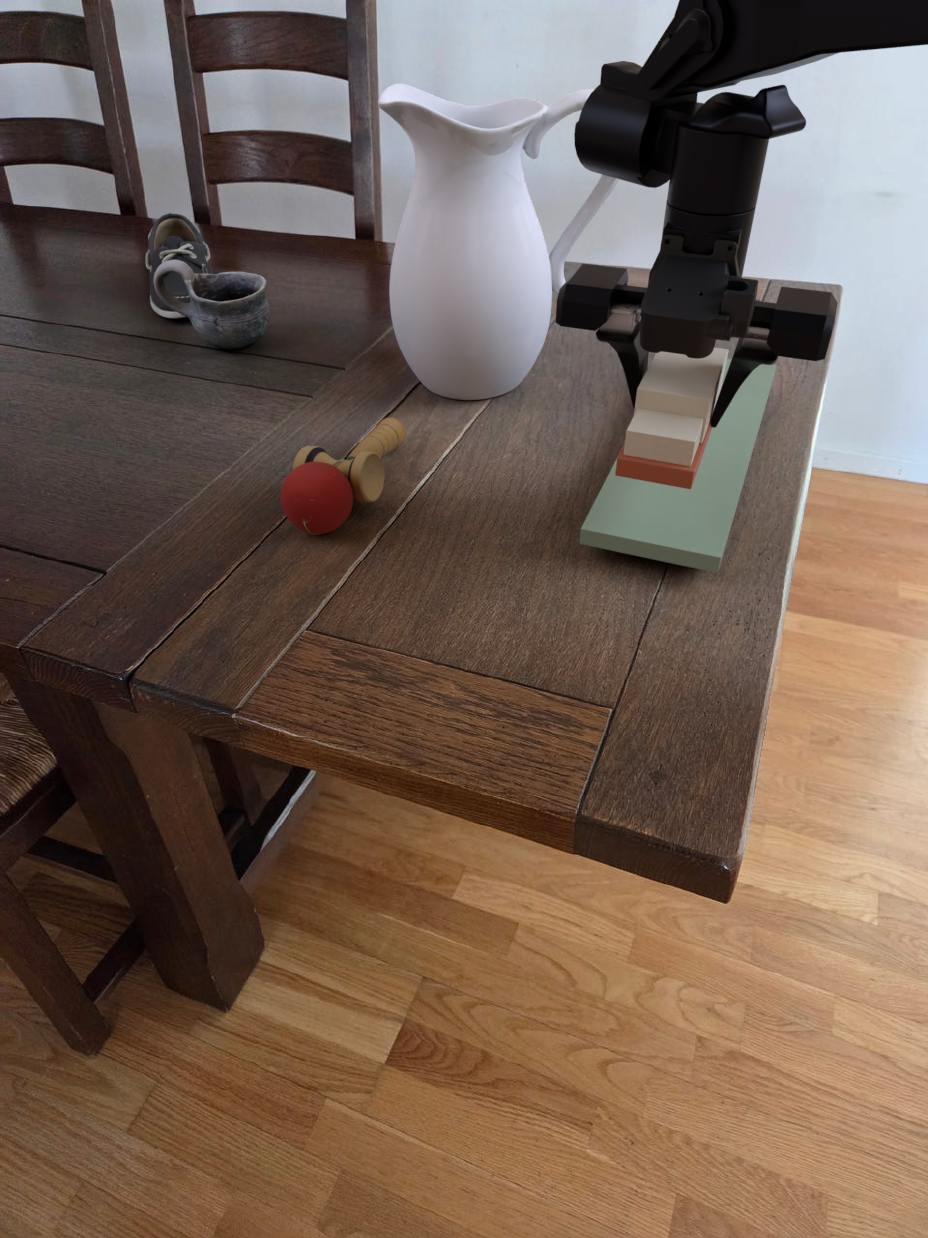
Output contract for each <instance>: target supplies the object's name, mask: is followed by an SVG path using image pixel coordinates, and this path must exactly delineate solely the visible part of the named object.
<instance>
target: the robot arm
mask: <svg viewBox="0 0 928 1238" xmlns="http://www.w3.org/2000/svg"><path fill="white" fill-rule="evenodd" d="M917 46H928V0H678V3H677V6H676V9H675V12H674V17H673V18H672V19H671V21H670V22H669V24H668V25H667V27H666V29H665V31H664V32H663V33H662V35H661V37H660V38H659V40H658V41H657V43H656V45H654V48H653V50H652V51H651V53H650V54H649V56H647V57H648V58H646V60H645V62H644V64H643V65H642V66H641V65H639V64H638V63H636V62H632V61H627V60H620V61H614V62H608V63H603V64H602V66H601V69H600V81H599V84H598V85H597V86H596V87H595V88H594V89H595V90H594V91H593V92H592V93H591V94H590V96H589V97H588V99H587V100H586V102H585V104H584V106H583V109H582V110H580V114H579V117H578V121H576V122H575V126H574V135H573V136H574V137H573V138H574V150H575V153H576V157H577V158H578V161H579V163H580V164H581V166H582V167H583V168H584V169H586V170H588V171H589V172H592V173H596V174H599V175H602V174H603V175H606V176H610V177H613V178H617V179H619V181H620V180H621V181H625V182H627V183H631V184H635V185H638V186H643V187H644V188H645V187H646V188H650V189H651V188H653V189H657V188H659V187H662V186H664V185H665V184H667V183H668V189H667V196H666V197H667V198H666V202H665V203H666V204H665V210H664V217H663V219H664V220H663V225H662V226H663V227H662V234H661V240H660V247H659V251H658V254H657V255H656V257H655V260H654V262H653V264H652V266H651V269H650V271H649V273H648V282H647V287H644V286H637V285H636V286H635V285H630V284H629V285H628V283H629V272H628V268H624V267H617V266H606V265H600V264H591V263H590V264H589V263H582V264H581V265H579V266H578V267H577V268H576V269H575V270H574V271H573V272H572V273H571V275H570V276H569V277H568V278H567V280H565V281H566V282H565V283H564V285H563V286H562V287H561V288H560V290H559V293H557V298H556V307H555V308H556V309H555V323H556V324H557V325H558V326H559V327H563V328H571V329H578V330H583V331H585V330H586V331H593V332H595V336H596V339H597V341H599V342H602V343H607V344H609V346H611V348H612V349H613V350H614V351H615V352H616V354H617V356H618V359H619V362H620V364H621V366H622V369H623V373H624V377H625V381H626V384H627V389H628V393H629V397H630V401H631V405H632V409H633V411H634V410H635V403H636V395H637V388H638V387H639V385H640V383H641V381H642V379H643V377H644V375H645V373H646V371H647V369H648V367H649V353H654V354H655V353H659V352H661V351H662V352H669V353H676V354H683V355H686V356H687V357H689V358H695V359H700V358H705V357H707V356H709V355H710V354H711V353H712V352H713V349H714V348H715V347H716V346H715V345H716V341H723V342H724V341H725V342H730V341H731V339H732V338H734V339H735V338H736V339H738V340H737V343H736V346H735V349H734V352H733V354H732V357H731V359H732V360H731V362H730V365H729V368H728V371H727V374H726V377H725V379H724V382H723V385H722V388H721V391H720V393H719V396H718V399H717V402H716V405H715V408H714V411H713V415H712V421H711V427H713V428H716V426H717V425H718V423H719V421H720V420H721V418H722V416H723V414H724V413H725V411H726V409H727V408H728V406H729V404H730V403H731V401H732V399H733V398H734V396H735V394H736V393H737V391H738V389H739V388H740V386H741V385H742V384H743V382H744V381H745V380H746V379H747V377H748V376H749V375H750V374H751V372H752V371H753V370H754V369H756V368H757V367H758V366H759V365H761V364H764V365H772V364H773V365H776V364H777V362H778V359H779V357H781V358H788V359H789V358H790V359H795V360H803V361H810V362H811V361H812V362H818V361H822V360H826V357H827V353H828V350H829V347H830V342H831V338H832V335H833V331H834V326H835V323H836V315H837V314H836V313H837V308H838V301H837V299H836V297H835V296H834V294H833V292H832V291H824V290H815V289H806V288H797V287H789V286H780V289H779V293H778V296H777V300H776V302H771V301H770V302H769V301H760V300H756V299H757V295H758V289H759V280H758V279H754V278H745V277H744V278H743V274H744V270H745V265H746V258H747V254H748V248H749V245H750V238H751V233H752V228H753V223H754V218H755V213H756V207H757V204H758V203H757V202H758V198H759V193H760V188H761V183H762V178H763V173H764V168H765V163H766V157H767V152H768V147H769V143H770V139H774V138H775V139H776V138H779V137H782V136H787V135H790V134H793V133H798V132H802V131H803V130H804V129H805V128H806V126H807V119H806V117H805V116H804V114H803V113H802V111H801V109H800V108H799V107H798V106H797V104H795V103H794V101H793V100H792V99H791V96H790V94H789V90H788V87H787V85H786V84H778V85H773V86H769V87H764V88H761V89H760V90H759V91H758V92H757V93H756V95H755V96H752V95H747V94H742V93H737V92H730V91H722V92H719V93H716V94H714V95H713V96H711V97H709V98H708V99H707V100H706V101H705V102H704V103H703V102H698V94H699V93H703V92H708V91H713V90H717V89H724V88H727V87H732V86H736V85H737V84H739V83H741V82H744V81H749V80H753V79H758V78H759V79H760V78H764V77H768V76H773V75H777V74H780V73H783V72H786V71H787V72H788V71H791V70H793V69H796V68H799V67H802V66H806V65H809V64H812V63H816V62H818V61H821V60H824V59H826V58H829V57H832V56H835V55H837V54H840V53H841V54H842V53H850V52H851V53H852V52H861V51H862V52H863V51H872V50H873V51H874V50H883V49H885V50H886V49H894V48H905V47H907V48H908V47H917Z"/></svg>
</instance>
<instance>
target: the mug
mask: <svg viewBox="0 0 928 1238" xmlns="http://www.w3.org/2000/svg"><path fill="white" fill-rule="evenodd" d="M170 272H173V273H177V274H179V275H181V277H182V278H183V281H184V283H185V285H186V287H187V290H188V293H189V297H190V300H191V302H190V303H183V302H181V301H179V300H177V299H176V298H175V297H174V296H172V295H171V293H170V292H169V291H168V290H167V289H166V287H165V285H164V282H163V277H164V275H165V274H167V273H170ZM267 285H268V283H267V279H266V278H264V277H263V276H262V275H260V274H257V273H252V272H246V271H245V272H244V271H224V272H219V273H216V274H215V273H211V274H196V273H194V272H193V271H192V269H191V268H190V267H189V266H188V265H187V264H186V263H185V262H183V261H180V260H168V261H165V262H163V263H162V264H161V265H160V266H159V267H158V268H157V270H156V272H155V274H154V287H155V290H156V292H157V294H158V296H159V297H160V299H161V300H162V301H163V302H164V303H165V304H166V305H167V306H168V307H170V308H171V309H173V310H174V311H176V312H178V313H180V314H181V315H183V316H186V317H187V318H188V319H189V321H190V323H191V324H192V327H193V329H194V331H195V332H196V333H197V335H198V336H199V337H200V338H201V339H202V340H203V341H205V342H206V343H208V344H210V345H212V346H215V347H219V348H222V349H227V350H236V349H242V348H244V347H247V346H249V345H250V344H253V343H255V342H257V341H258V340H260V339H261V338H262V337H263V336H264V335H265V333H266V332H267V330H268V328H269V323H270V319H271V309H270V304H269V301H268V300H267V297H266V290H267ZM186 317H185V318H186Z"/></svg>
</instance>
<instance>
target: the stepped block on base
mask: <svg viewBox="0 0 928 1238" xmlns="http://www.w3.org/2000/svg"><path fill="white" fill-rule="evenodd" d="M728 356H729V349H728V348H721V347H714V349H713V352H712V353H711V354H710V355H709V356H707V357H705V358H700V359H695V358H689V357H687V356H686V355H683V354H676V353H669V352H662V351H661V352H659V353H654V356H653V358H652V359H651V361H650V363H649V364H648V369H647V371H646V373H645V375H644V377H643V379H642V381H641V383H640V385H639V387H638V388H637V395H636V403H635V410H634V409H633V417H632V419H631V421H630V423H629V424H628V427H627V429H626V431H625V439H624V443H623V445H622V447H621V449H620V451H619V453H618V455H617V457H616V459H617V463H616V471H615V475H616V476H621V477H626V478H632V479H637V480H642V481H648V482H653V483H659V484H664V485H669V486H675V487H680V488H686V489H691V488H692V485H693V482H694V480H695V477H696V474H697V471H698V468H699V465H700V462H701V459H702V456H703V453H704V451H705V448H706V445H707V442H708V439H709V436H710V433H711V430H712V427H711V421H712V415H713V411H714V408H715V405H716V402H717V399H718V396H719V393H720V391H721V388H722V382H723V377H724V371H725V366H726V361H727V358H728Z"/></svg>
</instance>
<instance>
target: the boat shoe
mask: <svg viewBox="0 0 928 1238" xmlns="http://www.w3.org/2000/svg"><path fill="white" fill-rule="evenodd" d="M147 237H148V238H147V239H148V249H147V251H146V253H145V267H146V269H147V270H149V274H148V281H149V294H150V295H149V300H150V302H149V303H150V306H151V309H152V310H153V311H154V312H155V313H156V314H158V315H159V316H161V317H164V318H168V319H182V318H186V316H183V315H181V314H180V313H178V312H176V311H174V310H173V309H171V308H170V307H168V306H167V305H166V304H165V303H164V302H163V301H162V300H161V299H160V297H159V296H158V294H157V292H156V290H155V287H154V274H155V272H156V270H157V268H158V267H159V266H160V265H161V264H162V263H163V262H165V261H168V260H180V261H183V262H185V263H186V264H187V265H188V266H189V267H190V268H191V269H192V271H193V272H194V273H196V274H212V271H211V267H210V266H211V265H210V262H209V260H210V259H211V252H210V248H209V245H208V244H207V243H205V241H204V240H203V238H202V236H201V234H200V229H199V228H198V226H197V225H196V224H195V223H194V222H193V221H191V220H190V219H189V218H188V217H186V216H184V215H182V214H180V213H173V212H169V213H166V214H163V215H161V216H160V217H159V218H158V219H156V220H155V221H154V224H153V226H152V228H151V229H150V231H149V233H148V236H147ZM163 282H164V285H165V287H166V289H167V290H168V291H169V292H170V293H171V295H172V296H174V297H175V298H176V299H177V300H179V301H181V302H183V303H190V302H191V300H190V297H189V293H188V290H187V287H186V285H185V283H184V281H183V278H182V277H181V275H179V274H177V273H173V272H170V273H167V274H165V275H164V277H163Z"/></svg>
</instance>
